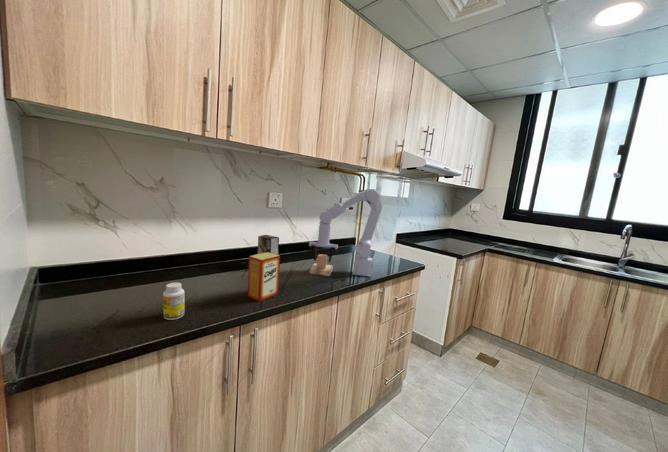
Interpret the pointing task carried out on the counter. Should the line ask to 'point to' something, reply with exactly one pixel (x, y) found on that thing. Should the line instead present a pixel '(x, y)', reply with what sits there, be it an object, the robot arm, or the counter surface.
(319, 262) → the pinkish brown block
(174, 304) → the supplement bottle
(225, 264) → the counter surface
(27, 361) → the counter surface
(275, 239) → the grey tall block
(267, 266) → the baking soda box
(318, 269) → the oak block
